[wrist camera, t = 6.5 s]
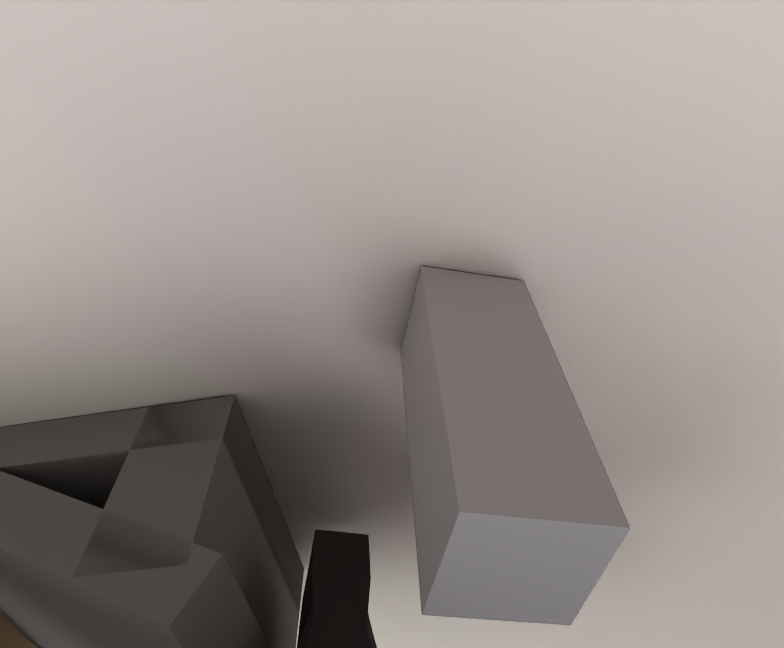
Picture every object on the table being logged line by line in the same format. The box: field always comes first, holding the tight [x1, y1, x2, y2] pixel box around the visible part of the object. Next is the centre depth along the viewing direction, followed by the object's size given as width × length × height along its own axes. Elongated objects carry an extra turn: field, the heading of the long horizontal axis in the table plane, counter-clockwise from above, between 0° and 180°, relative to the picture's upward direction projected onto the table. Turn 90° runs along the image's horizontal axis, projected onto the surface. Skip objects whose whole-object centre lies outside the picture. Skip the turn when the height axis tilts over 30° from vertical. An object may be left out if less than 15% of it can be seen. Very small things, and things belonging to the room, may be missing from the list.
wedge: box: [0, 396, 304, 648], centre depth 10 cm, size 6×5×4 cm
